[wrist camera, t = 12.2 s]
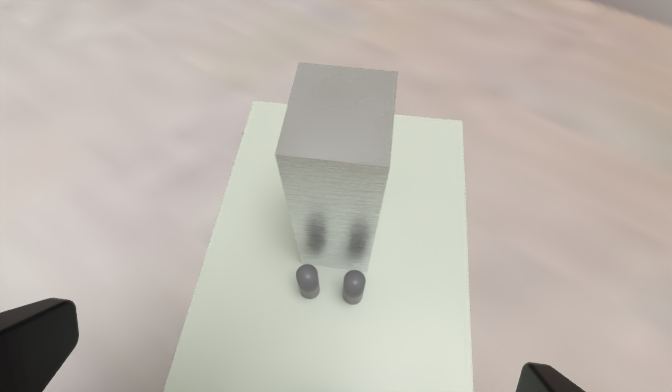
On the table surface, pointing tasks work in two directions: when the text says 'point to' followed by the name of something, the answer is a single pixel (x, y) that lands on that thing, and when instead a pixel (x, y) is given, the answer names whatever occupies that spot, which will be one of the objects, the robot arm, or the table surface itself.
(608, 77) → the table surface
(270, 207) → the pin tray
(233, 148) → the table surface
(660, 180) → the table surface
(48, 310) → the robot arm
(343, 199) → the block
